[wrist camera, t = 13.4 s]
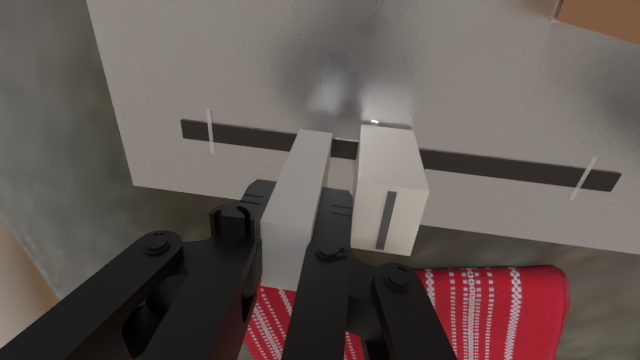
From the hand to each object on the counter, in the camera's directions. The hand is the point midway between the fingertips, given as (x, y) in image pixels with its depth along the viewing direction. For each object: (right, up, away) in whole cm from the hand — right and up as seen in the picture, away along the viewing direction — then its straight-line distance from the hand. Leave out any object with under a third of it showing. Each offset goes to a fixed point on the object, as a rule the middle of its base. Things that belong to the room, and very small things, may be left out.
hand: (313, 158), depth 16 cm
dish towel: (+6, -14, +13) cm, 20 cm away
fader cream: (+3, 0, +1) cm, 3 cm away
